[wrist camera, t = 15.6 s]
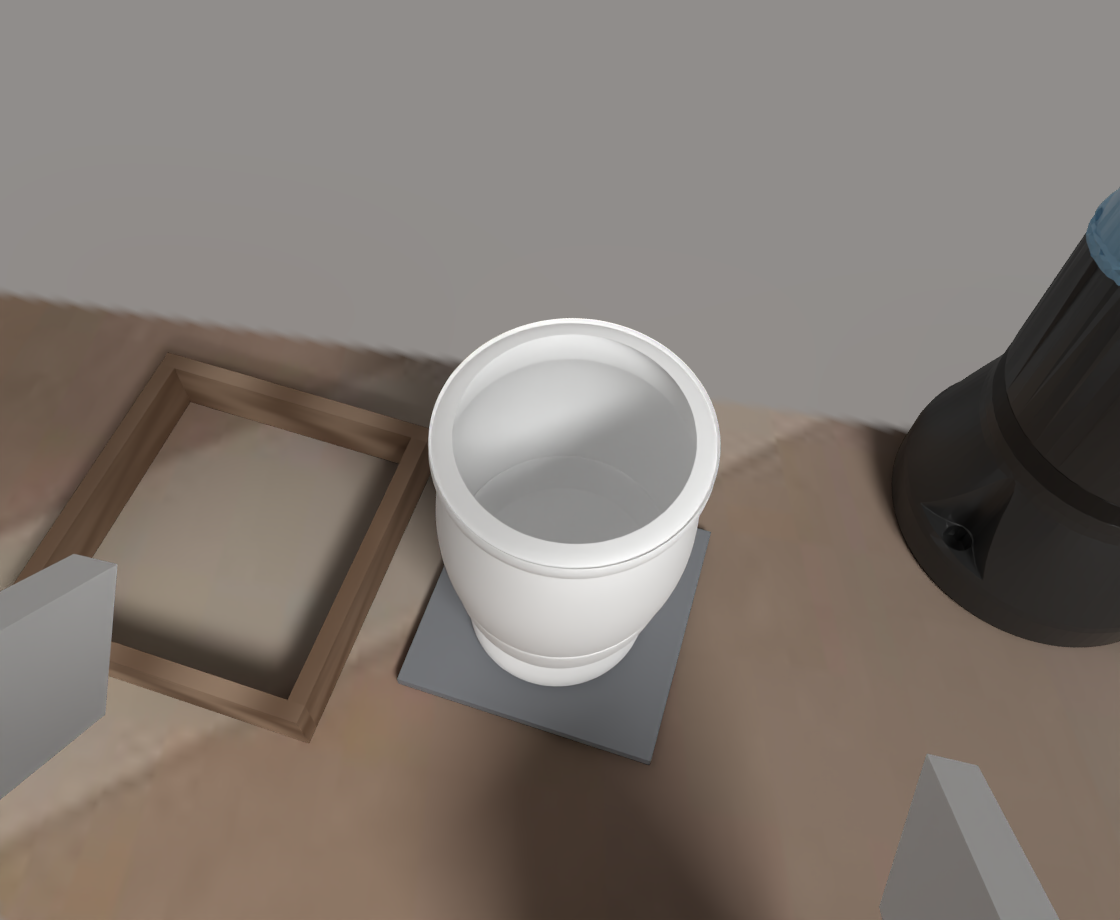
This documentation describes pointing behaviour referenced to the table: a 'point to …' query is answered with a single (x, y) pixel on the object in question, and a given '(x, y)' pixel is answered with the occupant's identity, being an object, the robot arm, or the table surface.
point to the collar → (282, 409)
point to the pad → (569, 711)
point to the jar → (569, 491)
